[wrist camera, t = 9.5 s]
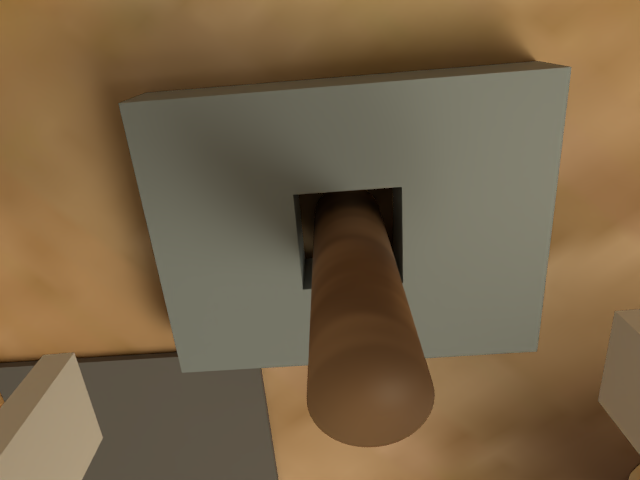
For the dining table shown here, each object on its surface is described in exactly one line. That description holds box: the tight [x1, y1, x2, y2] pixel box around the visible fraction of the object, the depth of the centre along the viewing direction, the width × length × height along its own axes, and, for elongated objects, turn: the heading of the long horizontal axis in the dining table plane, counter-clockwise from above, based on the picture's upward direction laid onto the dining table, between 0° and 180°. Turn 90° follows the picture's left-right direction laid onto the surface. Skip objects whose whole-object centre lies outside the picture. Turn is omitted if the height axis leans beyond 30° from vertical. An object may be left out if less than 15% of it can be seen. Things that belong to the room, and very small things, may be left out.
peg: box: [307, 190, 435, 447], centre depth 17 cm, size 3×3×12 cm
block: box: [118, 61, 571, 373], centre depth 21 cm, size 16×12×3 cm
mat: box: [0, 352, 278, 480], centre depth 28 cm, size 14×10×1 cm
